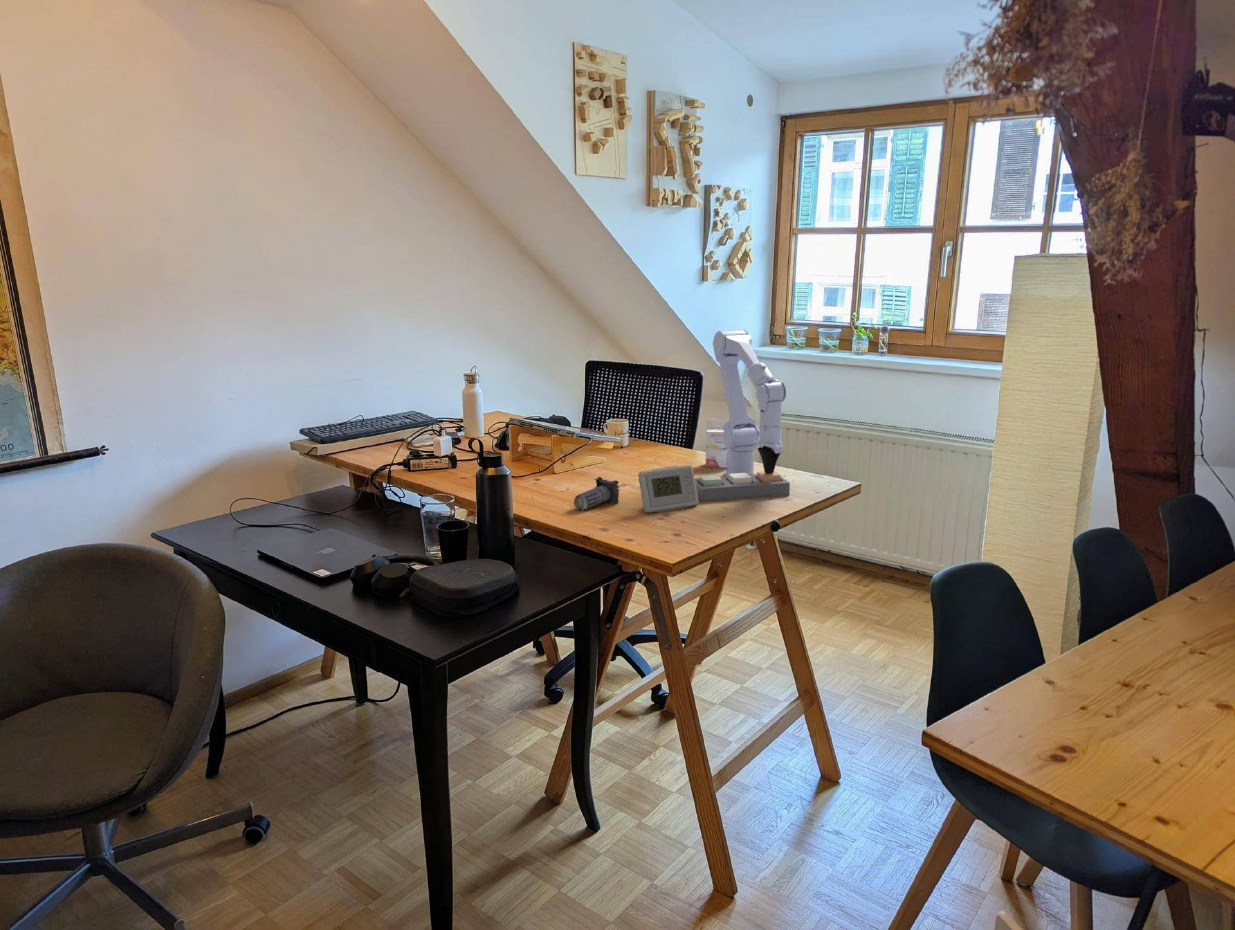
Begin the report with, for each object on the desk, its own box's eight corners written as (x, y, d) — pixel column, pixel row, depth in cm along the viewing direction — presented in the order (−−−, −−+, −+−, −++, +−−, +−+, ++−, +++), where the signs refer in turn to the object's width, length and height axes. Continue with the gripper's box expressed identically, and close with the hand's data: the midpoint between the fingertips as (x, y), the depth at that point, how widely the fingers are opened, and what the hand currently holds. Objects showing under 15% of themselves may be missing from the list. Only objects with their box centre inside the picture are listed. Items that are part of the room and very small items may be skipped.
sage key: (699, 481, 222) (699, 475, 221) (716, 480, 222) (716, 474, 222) (704, 486, 217) (704, 480, 216) (721, 485, 218) (721, 479, 217)
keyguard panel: (691, 490, 225) (691, 478, 224) (774, 484, 229) (775, 473, 228) (701, 501, 214) (701, 488, 214) (789, 494, 219) (789, 482, 218)
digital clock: (643, 515, 204) (642, 475, 201) (634, 505, 212) (634, 467, 210) (703, 509, 207) (703, 470, 205) (692, 500, 216) (692, 462, 213)
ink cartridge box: (705, 467, 250) (705, 422, 246) (705, 464, 255) (705, 419, 251) (733, 467, 249) (733, 422, 246) (732, 464, 254) (733, 419, 250)
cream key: (728, 480, 223) (728, 473, 223) (745, 478, 224) (745, 472, 223) (734, 484, 218) (734, 478, 218) (751, 483, 219) (751, 477, 219)
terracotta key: (757, 478, 224) (757, 471, 224) (774, 476, 225) (774, 470, 225) (763, 482, 220) (763, 476, 219) (780, 481, 220) (780, 475, 220)
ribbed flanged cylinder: (601, 503, 220) (571, 516, 211) (595, 476, 219) (565, 488, 210) (625, 503, 213) (595, 516, 205) (619, 475, 212) (589, 487, 204)
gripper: (747, 421, 225) (746, 467, 228) (765, 431, 211) (764, 480, 214) (771, 420, 226) (770, 466, 229) (790, 429, 212) (789, 478, 215)
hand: (769, 472), depth 222 cm, fingers closed
